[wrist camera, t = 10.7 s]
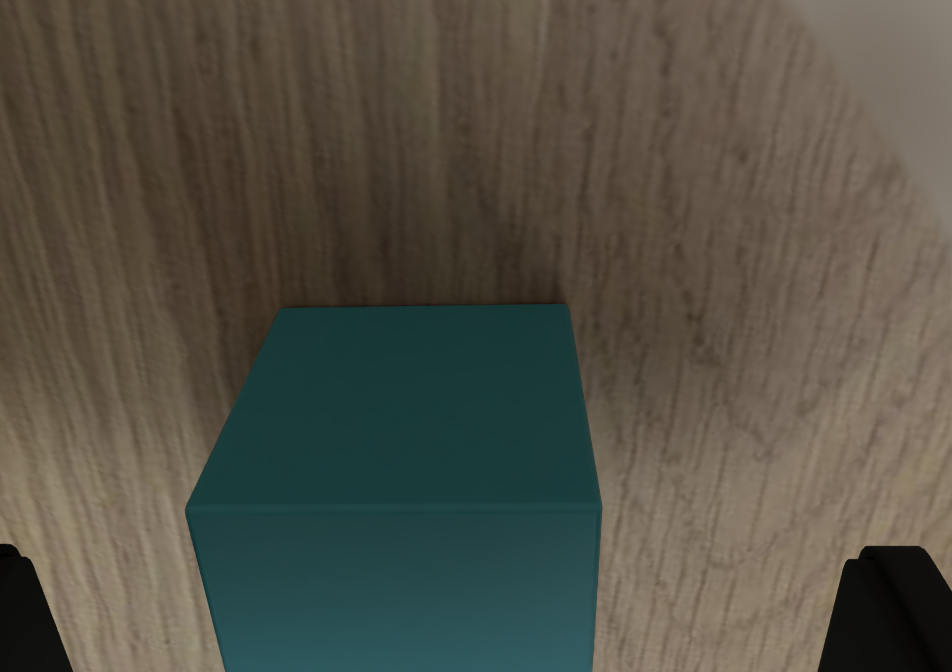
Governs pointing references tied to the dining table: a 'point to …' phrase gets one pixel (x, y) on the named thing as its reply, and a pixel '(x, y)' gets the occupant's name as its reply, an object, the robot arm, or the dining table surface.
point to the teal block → (404, 496)
